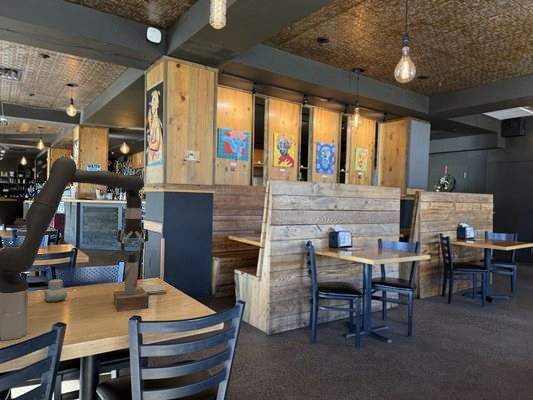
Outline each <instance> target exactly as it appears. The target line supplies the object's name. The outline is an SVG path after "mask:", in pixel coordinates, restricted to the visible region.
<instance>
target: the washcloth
mask: <svg viewBox="0 0 533 400" xmlns="http://www.w3.org/2000/svg"><path fill="white" fill-rule="evenodd" d="M139 289H143V290H144V291H145V292H146V293H147V294H148V296H149V297H150V296H159V295H166V294H167V292H166V291H167V289H166V286H164V285H162V284H161V283H153V284H143V285H140V286H139Z"/></svg>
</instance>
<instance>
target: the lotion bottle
mask: <svg viewBox="0 0 533 400" xmlns="http://www.w3.org/2000/svg"><path fill="white" fill-rule="evenodd" d="M138 270H139V263H138V262H137V253H136V252H129V253H127V262H125V270H124V271H125V272H124V274H125V275H124V291H125V295H135V294H137V290H138V277H139V276H138V274H139V271H138Z"/></svg>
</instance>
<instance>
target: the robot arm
mask: <svg viewBox="0 0 533 400" xmlns="http://www.w3.org/2000/svg"><path fill="white" fill-rule="evenodd" d="M69 183H71V184H74V183H76V184H89V185H97V186H105V187H110V188H114V189H124V191H125V198H126V201H125V202H126V203H125V204H126V205H125V213H124V214H125V215H124V219H125V220H124V229H120V228H119V229H117V236H116V242H118V243H120V250H121V251H122V252H125V244H126V241H127V240H128V239H138V240H139V241H140V245H139V246H140V248H139V249H140V251H143V250H145V243H146V242H149V230H148V228H145V229H142V218H143V217H142V215H143V212H142V204H143V203H142V202H143V201H142V197H141V195H140V191H141V190H142V189H144V187H145V181H144V180H143V179H142V177H139V176H135V175H129V174H121V173H118V172H113V171H107V170H84V169H78V168H77V163H76V161H75V160H74V159H73V158H71V157H68V156H60V157H58V158H57V159H55V160H54V161H53V163H52V164H51V166H50V169H49V176H48V178H47V180H46V182H45V183H44V185H43V186H42V188H41V189H40V190H39V192H38V193H37V194H36V196H35V197H34V198H33V201H32V202H31V203H30V206H29V208H28V210H27V211H26V214H25V226H26V234H25V237H24V240H23V241H22V243H21V245H20V247H13V246H12V247H11V246H8V247H4V248H2V249H1V250H0V341H2V342H3V341H9V340H17V339H21V338H22V337H24V336H25V337H26V335H27V334H28V311H29V310H28V308H29V306H28V305H29V282H28V281H27V280H26V279H24V277H22V275H21V274H24V273H26V272H28V271H30V269H31V268H32V267H33V266H34V264H35V261H36V258H37V256H38V253H39V251H40V250H39V249H40V247H41V245H42V242H43V240H44V237H45V235H46V233H47V231H48V229H49V227H50V226H51V223H52V221H53V219H54V216H55V215H56V214H57V210H58V208H59V206H60V203H61V201H62V198H63V196H64V192H65V190H66V189H67V186H68V184H69ZM142 233H143V234H144V238H143V237H142ZM123 234H125V235H124V236H123V238H122V237H121V236H122V235H123ZM121 238H122V239H121Z"/></svg>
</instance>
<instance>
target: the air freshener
mask: <svg viewBox="0 0 533 400" xmlns="http://www.w3.org/2000/svg"><path fill="white" fill-rule="evenodd" d="M48 282H49V283H48V289H46V290H45V291H44V294H43V296H44V300H45V301H47V302H50V303H53V302H54V303H55V302H61V301H63V300H65V299H66V298H67V297H68V295H67V294H68V292H67V290H66V288H65V287H63V284H64V282H63V280H62V279H59V278H58V279H51V280H50V281H48Z"/></svg>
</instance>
